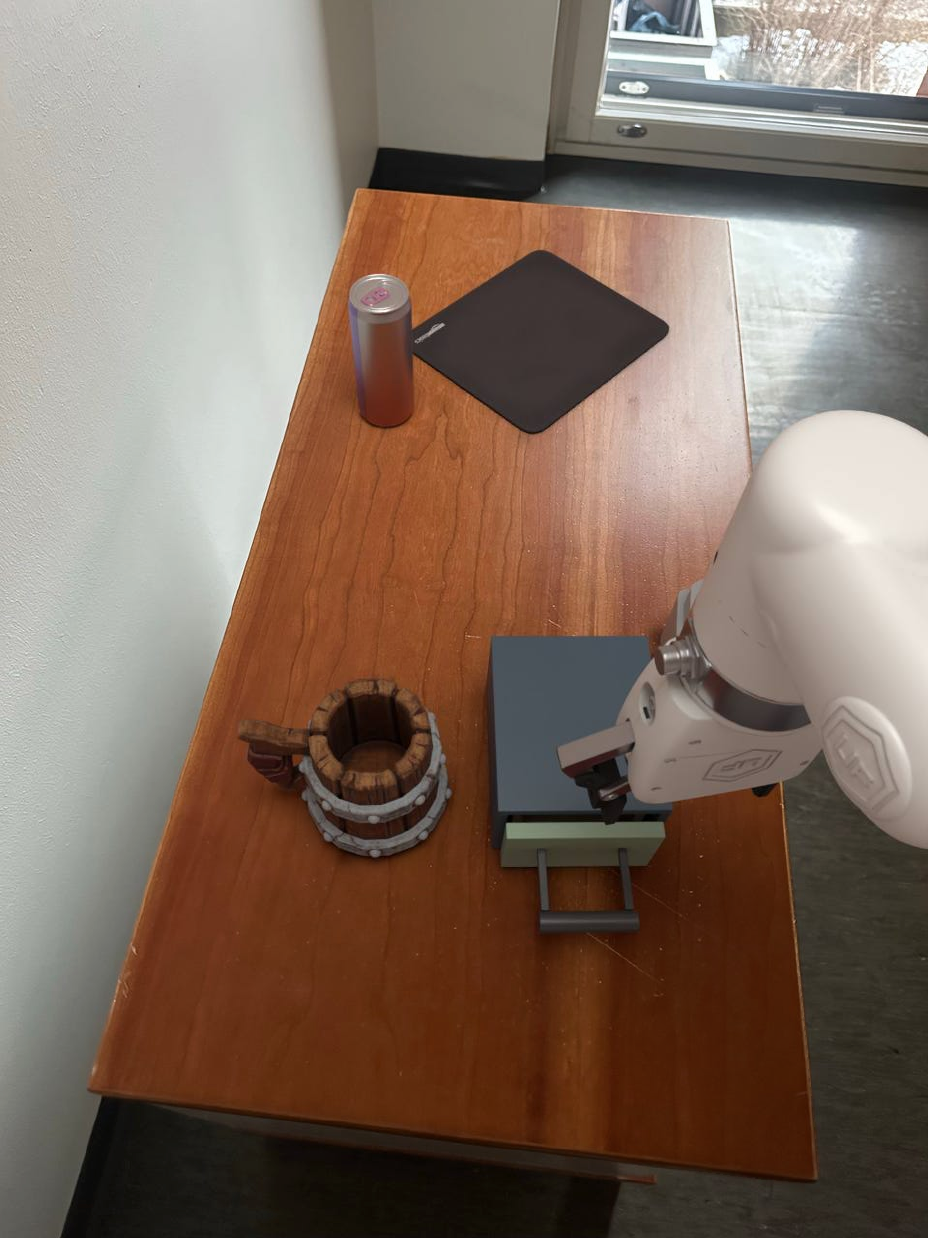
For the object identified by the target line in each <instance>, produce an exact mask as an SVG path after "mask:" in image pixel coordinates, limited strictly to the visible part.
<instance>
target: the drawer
mask: <svg viewBox="0 0 928 1238" xmlns="http://www.w3.org/2000/svg"><path fill="white" fill-rule="evenodd" d="M644 816H645V814H621V815H620V817H619V819H618V821H616V822H615V824H611V825H605V823H604V820H603V816H602V814H563V815H508V823H506V826H505V831H504V836H503V841H502V846H501V849H500V853H499V856H500V867H501V868H536V867H537V877H538V897H539V911H538V912H537V931H538V933H539V935H547V934H548V935H551V934H559V935H560V934H628V933H629V934H631V933H632V934H635V933H637V934H638V933H639V932H640V925H641V924H640V916H639V912H638V910H637V909H635V905H634V898H633V897H634V896H633V890H632V880H631V872H630V867H646V866H648V864H649V863H650V862H651V860H652V858H653V857H654V856H655V854H656V852H657V851H658V849H659V848H660V847H661V845H662V843H663V842H664V840H665V839H666V837H667V836H666V830H665V824H664V823H663V822H641V821H642V820H643V818H644ZM548 867H551V868H552V867H555V868H556V867H557V868H558V867H619V877H620V885H621V895H622V903H623V909H620V910H619V909H618V910H617V909H615V910H611V909H610V910H608V909H607V910H606V909H605V910H550V898H549V897H550V896H549V884H548Z"/></svg>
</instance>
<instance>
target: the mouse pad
mask: <svg viewBox="0 0 928 1238" xmlns="http://www.w3.org/2000/svg"><path fill="white" fill-rule="evenodd" d="M669 331H670V326H669V323H667V322H666V321H665V320H664V319H662V318H661V317H659V316H657V315H656V314H655V313H653V312H651V311H649V310H647V309H646V308H645V307H642V306H641V305H639V304H637V303H635V301H632V300H631V299H629V298H627V297H626V296H624V295H623V294H621V293H619V292H617V291H616V290H614V289H613V288H611V287H609V286H607V285H606V284H604V283H603V282H601V281H599V280H598V279H596V278H594V277H592V276H591V275H589V274H588V273H586V272H584V271H583V270H581V269H579V268H577V267H576V266H575V265H572V264H571V263H569V262H568V261H566V260H564V259H563V258H562V257H559V256H557V254H555V253H552V252H551V251H548V250H545V249H537V250H533V251H531V252H529V253H528V254H526V255H525V256H523V257H521V258H520V259H518V260H516V261H515V262H514V263H512V264H511V265H509V266H507V267H506V268H504V269H503V270H501V271H499V273H497V274H495V275H493V276H492V277H491V278H489V279H487V280H486V281H484V282H482V283H481V284H480V285H478V286H476V287H475V288H473V289H472V290H470V291H469V292H467V293H466V294H464V295H463V296H461V297H460V298H458V299H457V300H455V301H453V302H452V303H450V304H449V305H448V306H446V307H444V308H443V309H441V310H440V311H438V312H437V313H435V314H433V315H432V316H430V317H428V318H427V319H426V320H424V321H423V322H421V323H420V324H418V325H417V326H415V327H413V328H412V343H413V355H415V356H417V357H418V358H419V359H421V360H422V361H424V362H425V363H426V364H428V365H429V366H430V367H432V368H434V369H435V370H437V371H438V372H439V373H441V374H442V375H443V376H445V377H446V378H448V379H449V380H450V381H452V382H453V383H455V384H456V385H457V386H459V387H460V388H461V389H463V390H465V391H466V392H467V393H469V394H470V395H472V396H473V397H474V398H476V399H477V400H478V401H480V402H481V403H483V404H484V405H486V406H487V407H488V408H490V409H492V410H493V411H494V412H496V413H497V414H498V415H500V416H502V417H503V418H504V419H505V420H507V421H509V422H510V423H511V424H513V425H514V426H516V428H518V429H520V430H521V431H524V432H526V433H529V434H537V433H540V432H542V431H544V430H546V429H547V428H550V426H551V425H552V424H554V423H555V422H557V421H558V420H559V419H560V418H562V417H563V416H564V415H566V414H568V413H569V412H570V411H571V410H572V409H574V408H575V407H576V406H577V405H579V404H580V403H581V402H582V401H583V400H585V399H587V397H589V396H590V395H591V394H593V393H595V391H597V390H598V389H599V388H601V387H602V386H603V385H605V384H606V383H607V382H609V381H610V380H611V379H612V378H614V377H615V376H616V375H617V374H619V373H620V372H621V371H622V370H624V369H625V368H626V367H628V366H629V365H631V364H632V363H633V362H634V361H636V360H637V359H638V358H639V357H641V356H642V355H644V354H645V353H646V352H647V351H648V350H650V349H651V348H652V347H654V346H655V345H656V344H657V343H659V342H660V341H661V340H662V339H664V338H665V337H666V336H667V335H668V333H669Z"/></svg>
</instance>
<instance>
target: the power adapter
mask: <svg viewBox="0 0 928 1238" xmlns="http://www.w3.org/2000/svg"><path fill="white" fill-rule="evenodd" d="M703 581H704V578H701V579H699V580H697V581H696V582H694V583H692V585H691V586H690V588H683V589H681V590H679V592H678V593H677V596H676V598H675V600H674V604H673V606H672V609H671V610H670V612H669V613H670V614H669V615H668V618H667V620H666V623H665V626H664V628H663V631H662V633H661V635H660V639H659V646H664V645H665V644H666V643H667V642H668V641H669V640H670V639H672V638H675V637H676V636H679V634H680V632H681V630H682V628H683V625H684V623H685V621H686V618H687V616H688V614H689V612H690V609H691V607H692V605H693V603H694V601H695V598H696V596H697V594H698V592H699V590H700V587H701V585H702V583H703Z"/></svg>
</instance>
